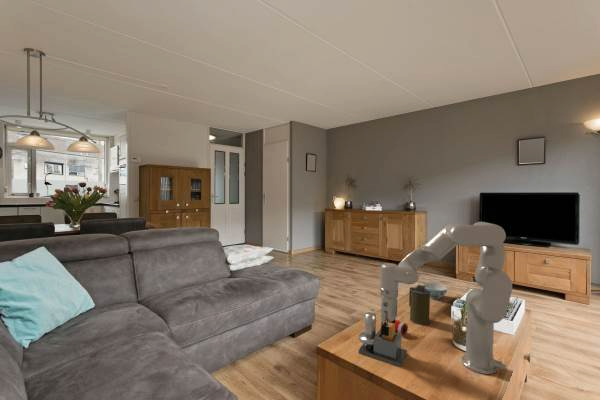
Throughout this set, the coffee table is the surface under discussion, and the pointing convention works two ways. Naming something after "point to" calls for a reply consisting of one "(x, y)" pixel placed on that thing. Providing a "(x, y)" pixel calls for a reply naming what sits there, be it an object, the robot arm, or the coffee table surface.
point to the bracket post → (380, 343)
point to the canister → (419, 305)
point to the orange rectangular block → (390, 332)
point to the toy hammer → (400, 327)
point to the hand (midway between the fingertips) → (388, 330)
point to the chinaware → (436, 290)
